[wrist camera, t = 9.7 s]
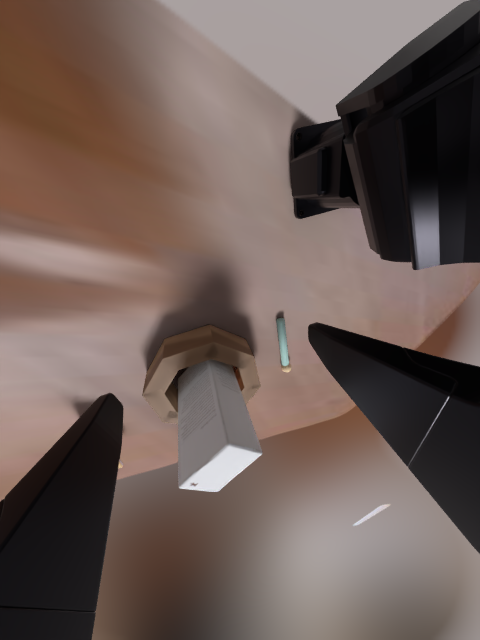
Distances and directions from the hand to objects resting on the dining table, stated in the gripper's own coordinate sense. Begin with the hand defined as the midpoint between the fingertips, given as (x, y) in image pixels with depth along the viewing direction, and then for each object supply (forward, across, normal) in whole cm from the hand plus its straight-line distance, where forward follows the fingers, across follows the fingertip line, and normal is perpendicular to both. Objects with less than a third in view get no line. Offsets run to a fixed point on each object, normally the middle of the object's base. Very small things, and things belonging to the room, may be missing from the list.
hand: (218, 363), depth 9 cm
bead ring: (+13, +3, +12) cm, 18 cm away
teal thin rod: (+13, -8, +12) cm, 19 cm away
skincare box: (+13, +3, +12) cm, 18 cm away
